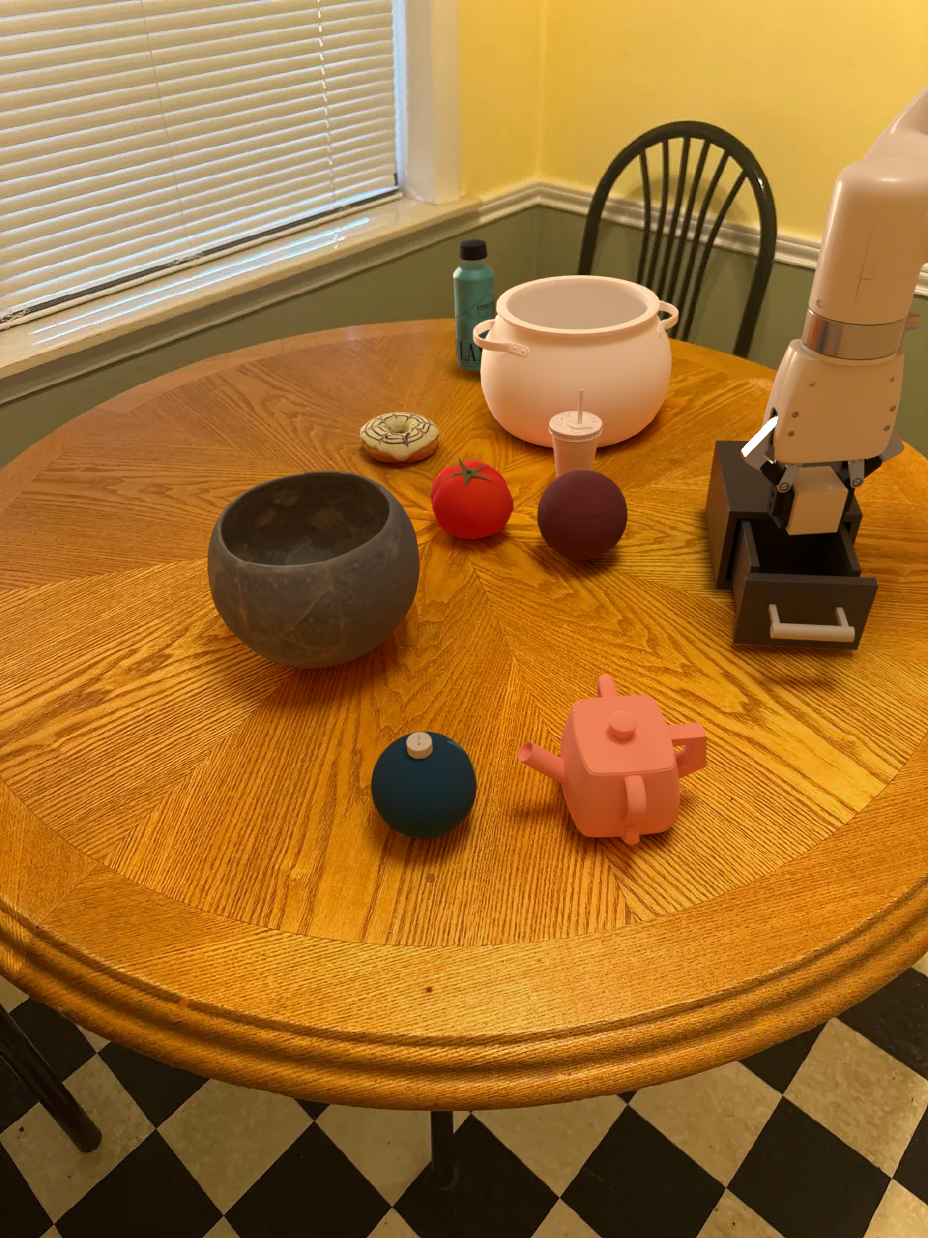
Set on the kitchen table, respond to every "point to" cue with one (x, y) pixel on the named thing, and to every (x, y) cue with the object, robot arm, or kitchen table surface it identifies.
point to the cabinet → (745, 502)
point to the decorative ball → (582, 515)
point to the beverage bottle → (472, 302)
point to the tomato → (471, 500)
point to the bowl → (313, 567)
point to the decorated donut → (399, 437)
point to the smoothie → (575, 439)
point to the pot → (576, 355)
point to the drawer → (797, 588)
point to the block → (816, 501)
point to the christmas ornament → (423, 785)
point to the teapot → (620, 764)
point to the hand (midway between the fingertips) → (805, 517)
